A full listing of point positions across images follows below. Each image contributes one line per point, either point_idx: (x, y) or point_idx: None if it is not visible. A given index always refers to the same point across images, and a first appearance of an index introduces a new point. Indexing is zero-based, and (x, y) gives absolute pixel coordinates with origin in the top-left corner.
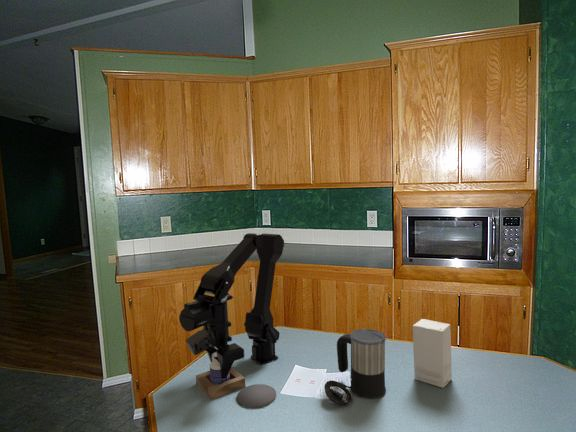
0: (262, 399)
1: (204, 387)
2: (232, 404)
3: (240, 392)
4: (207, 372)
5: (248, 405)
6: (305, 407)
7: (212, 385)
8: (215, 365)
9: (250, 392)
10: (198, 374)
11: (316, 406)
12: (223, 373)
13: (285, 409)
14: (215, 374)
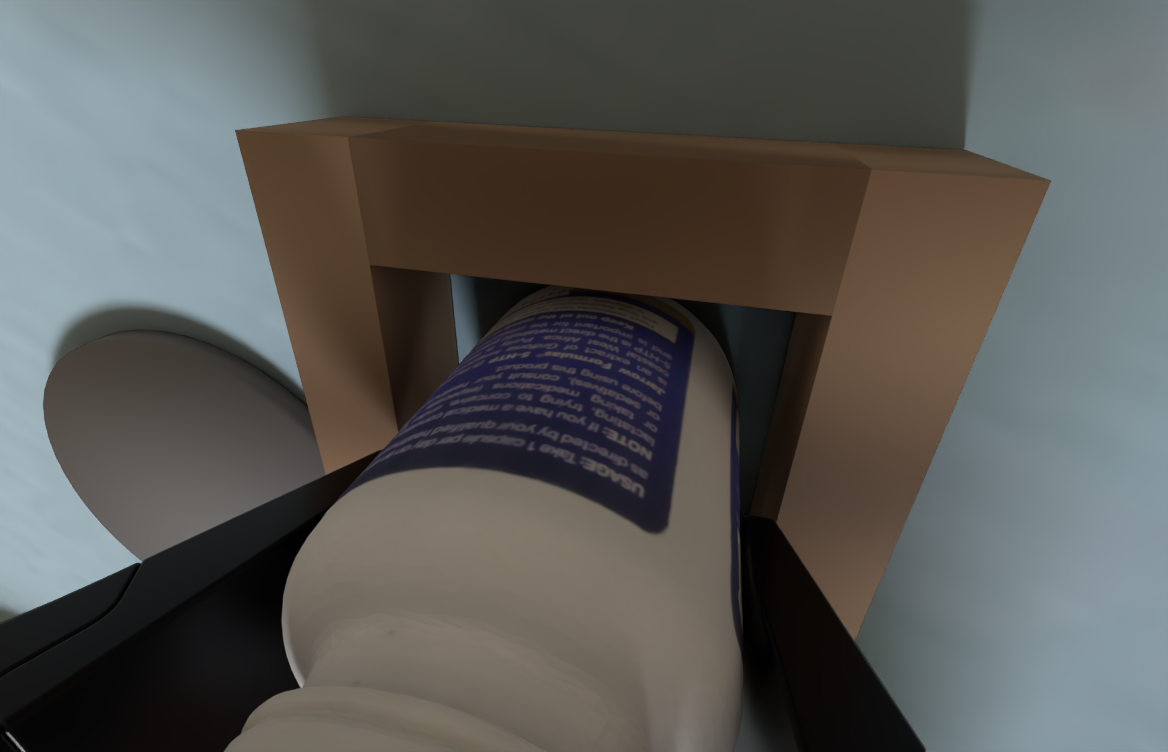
0: (119, 482)
1: (542, 140)
2: (172, 271)
3: (292, 439)
4: (899, 428)
5: (66, 358)
6: (26, 572)
7: (391, 245)
8: (348, 594)
9: (254, 491)
10: (1017, 256)
11: (27, 605)
12: (272, 512)
13: (21, 499)
14: (413, 422)
